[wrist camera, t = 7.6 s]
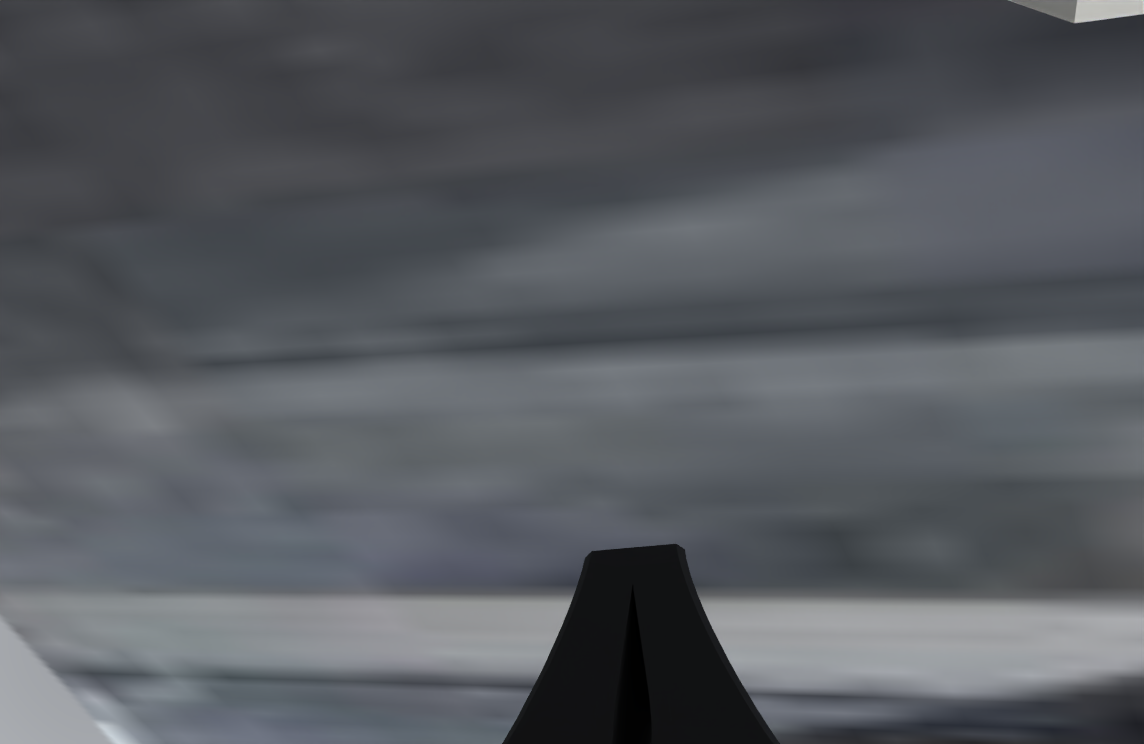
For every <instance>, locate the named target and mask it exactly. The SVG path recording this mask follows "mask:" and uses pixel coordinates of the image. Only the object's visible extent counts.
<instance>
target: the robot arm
mask: <svg viewBox="0 0 1144 744" xmlns="http://www.w3.org/2000/svg"><path fill="white" fill-rule="evenodd" d="M502 744H780V743H779V742H778V740H777V739H776V737H775V736H774V734H773V733H772V731H771V730H770V728H769V727H768V725H767V724H766V722H765V721H764V719H763V718H762V716H761V714H760V713H759V711H758V710H757V708H756V707H755V705H754V703H753V702H752V700H751V698H750V697H749V695H748V693H747V692H746V690H745V688H744V687H743V685H742V683H741V682H740V680H739V678H738V676H737V675H736V673H735V671H734V669H733V667H732V666H731V664H730V662H729V660H728V658H727V656H726V654H725V652H724V650H723V648H722V646H721V644H720V643H719V641H718V639H717V637H716V635H715V633H714V631H713V629H712V627H711V625H710V622H709V620H708V618H707V616H706V614H705V611H704V609H703V607H702V604H701V602H700V599H699V597H698V595H697V592H696V589H695V587H694V584H693V581H692V578H691V575H690V572H689V568H688V564H687V560H686V555H685V549H683V548H682V547H680V546H679V545H677V544H669V545H657V546H646V547H634V548H623V549H611V550H600V551H592V552H591V553H590V554H589V555H588V556H587V557H586V558H585V561H584V565H583V569H582V572H581V576H580V579H579V582H578V585H577V588H576V591H575V594H574V597H573V599H572V602H571V605H570V607H569V610H568V612H567V615H566V617H565V620H564V622H563V625H562V627H561V629H560V632H559V634H558V636H557V638H556V641H555V643H554V645H553V647H552V650H551V652H550V654H549V656H548V659H547V661H546V663H545V665H544V667H543V669H542V671H541V673H540V676H539V677H538V679H537V681H536V683H535V685H534V687H533V689H532V691H531V693H530V695H529V696H528V698H527V700H526V702H525V704H524V706H523V708H522V710H521V712H520V714H519V716H518V717H517V719H516V721H515V723H514V725H513V726H512V728H511V730H510V731H509V733H508V735H507V737H506V738H505V740H504V742H503V743H502Z"/></svg>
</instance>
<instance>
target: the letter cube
mask: <svg viewBox="0 0 1144 744" xmlns="http://www.w3.org/2000/svg"><path fill="white" fill-rule="evenodd" d="M1008 1H1011V2H1014V3H1017V4H1020V5H1023V6H1025V7H1028V8H1031V9H1034V10H1037V11H1040V12H1043V13H1046V14H1048V15H1051V16H1054V17H1057V18H1060V19H1063V20H1066V21H1069V22H1072V23H1081V22H1088V21H1096V20H1103V19H1110V18H1118V17H1125V16H1132V15H1140V14H1144V0H1008Z"/></svg>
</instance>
